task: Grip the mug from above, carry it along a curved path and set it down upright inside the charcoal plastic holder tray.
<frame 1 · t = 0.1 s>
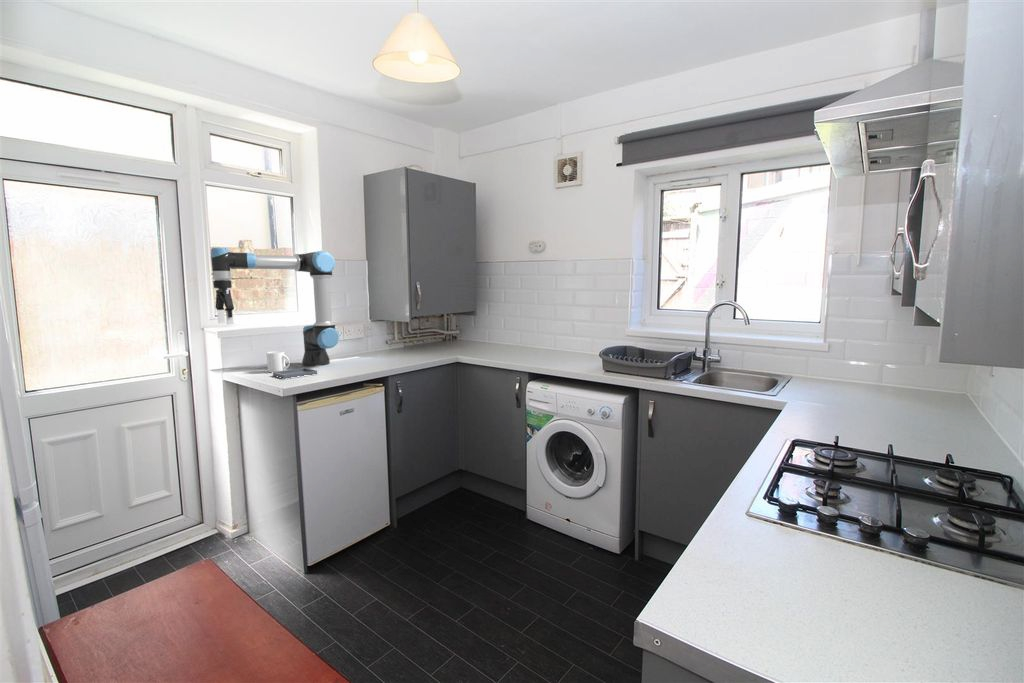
hand: (225, 323, 235), 28 cm above the worktop, tool pointing down, fingers open, 13 cm apart
holder tray: (295, 375, 247), on the worktop
mug: (279, 372, 259), on the worktop
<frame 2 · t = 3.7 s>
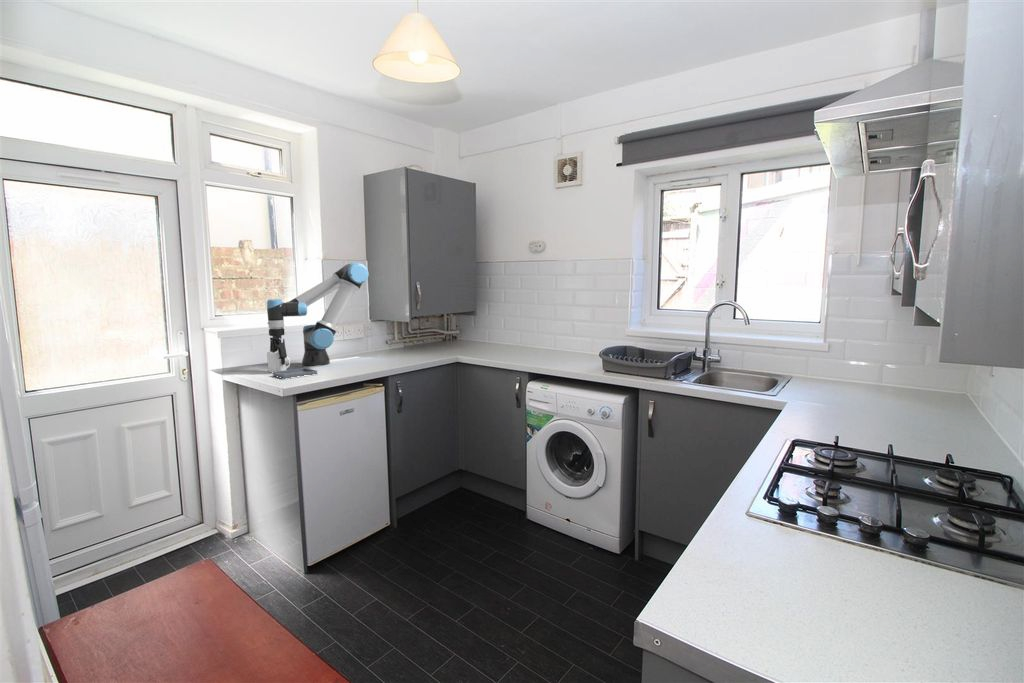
hand: (279, 369, 259), 1 cm above the worktop, tool pointing down, fingers closed on mug, 10 cm apart
mug: (280, 372, 259), on the worktop, touching gripper
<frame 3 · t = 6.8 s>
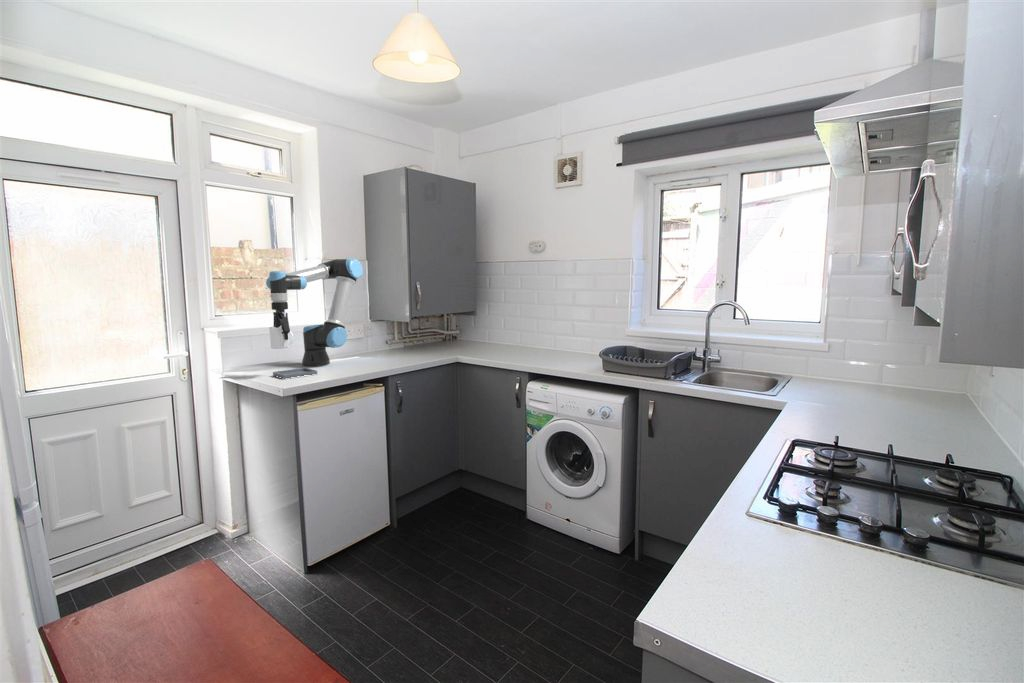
hand: (282, 345, 246), 16 cm above the worktop, tool pointing down, fingers closed on mug, 10 cm apart
mug: (283, 348, 246), point 14 cm above the worktop, touching gripper
when the fingers open (4 cm above the worktop, at t = 9.9 s): mug drops 2 cm, resting on holder tray.
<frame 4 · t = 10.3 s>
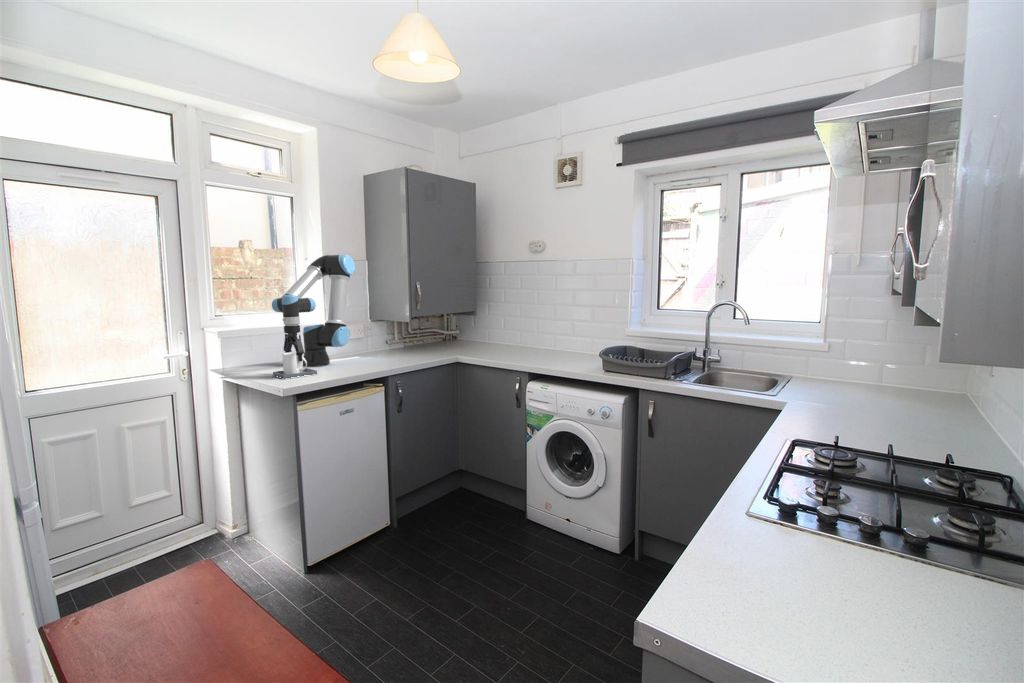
hand: (294, 366, 247), 5 cm above the worktop, tool pointing down, fingers open, 13 cm apart
mug: (296, 374, 247), resting on holder tray
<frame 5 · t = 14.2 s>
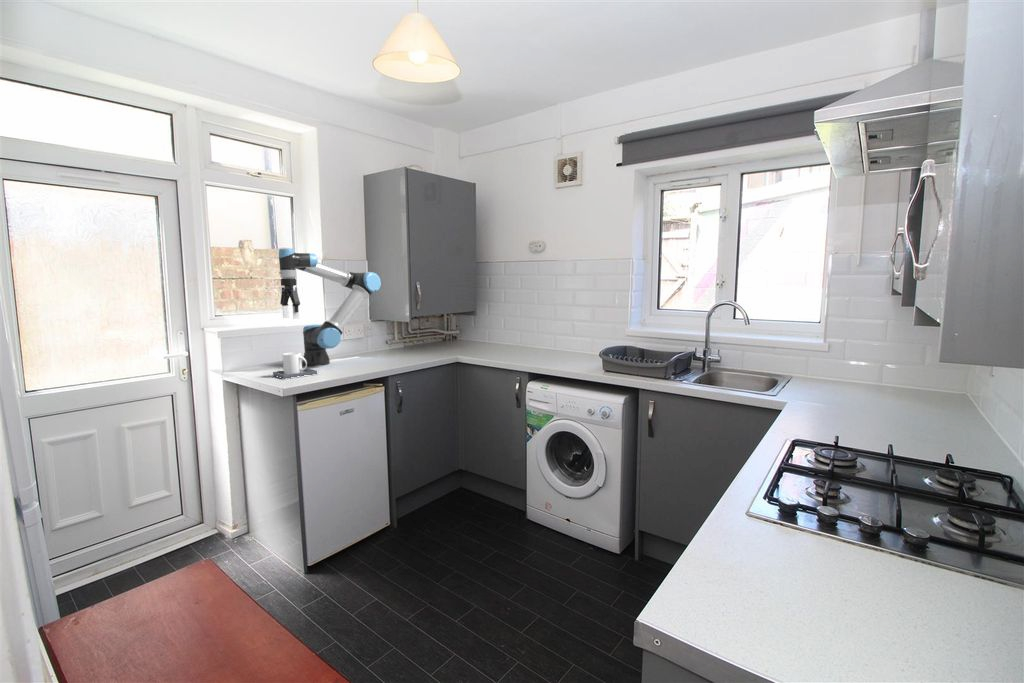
hand: (291, 318, 257), 29 cm above the worktop, tool pointing down, fingers open, 13 cm apart
nothing on the worktop moved.
at the end: mug 0.5 cm off-centre on the holder tray, point 0.4 cm above the holder tray's base; mug tilted 0°; the gripper is holding nothing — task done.
